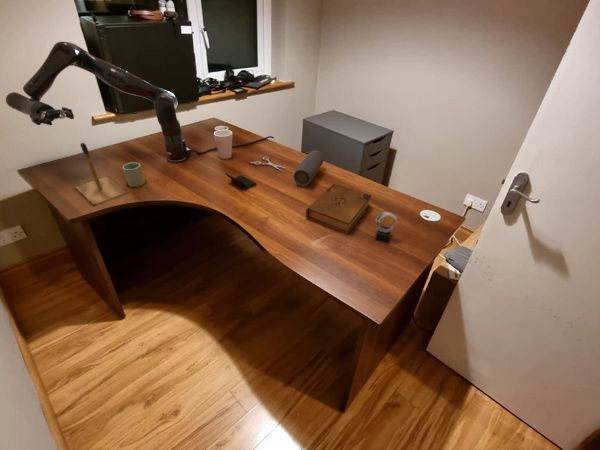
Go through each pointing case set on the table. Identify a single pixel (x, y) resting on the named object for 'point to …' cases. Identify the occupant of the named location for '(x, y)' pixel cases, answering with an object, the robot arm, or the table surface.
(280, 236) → the table surface
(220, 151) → the foam cup
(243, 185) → the dark angular piece
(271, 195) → the table surface
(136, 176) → the brush pot
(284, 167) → the scissors
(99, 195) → the mat
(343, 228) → the diary
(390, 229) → the watch
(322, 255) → the table surface
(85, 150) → the brush
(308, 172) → the bluetooth speaker
